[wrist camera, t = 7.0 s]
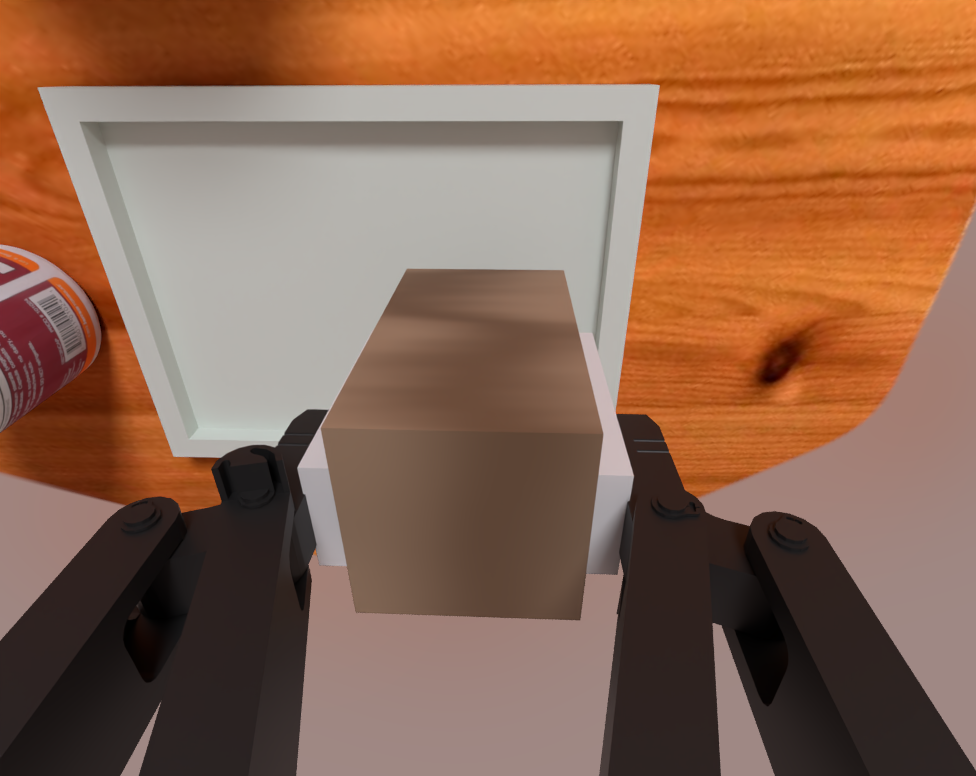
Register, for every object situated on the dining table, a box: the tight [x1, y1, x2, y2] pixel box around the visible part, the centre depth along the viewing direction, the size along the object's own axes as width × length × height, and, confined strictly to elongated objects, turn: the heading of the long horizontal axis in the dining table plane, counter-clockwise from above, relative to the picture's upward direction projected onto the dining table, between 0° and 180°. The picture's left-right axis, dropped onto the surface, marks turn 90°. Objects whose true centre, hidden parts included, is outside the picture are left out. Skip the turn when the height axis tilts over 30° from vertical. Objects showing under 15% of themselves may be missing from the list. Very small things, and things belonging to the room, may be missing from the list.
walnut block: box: [321, 269, 604, 620], centre depth 15 cm, size 5×5×9 cm
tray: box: [38, 84, 660, 458], centre depth 22 cm, size 20×15×2 cm
